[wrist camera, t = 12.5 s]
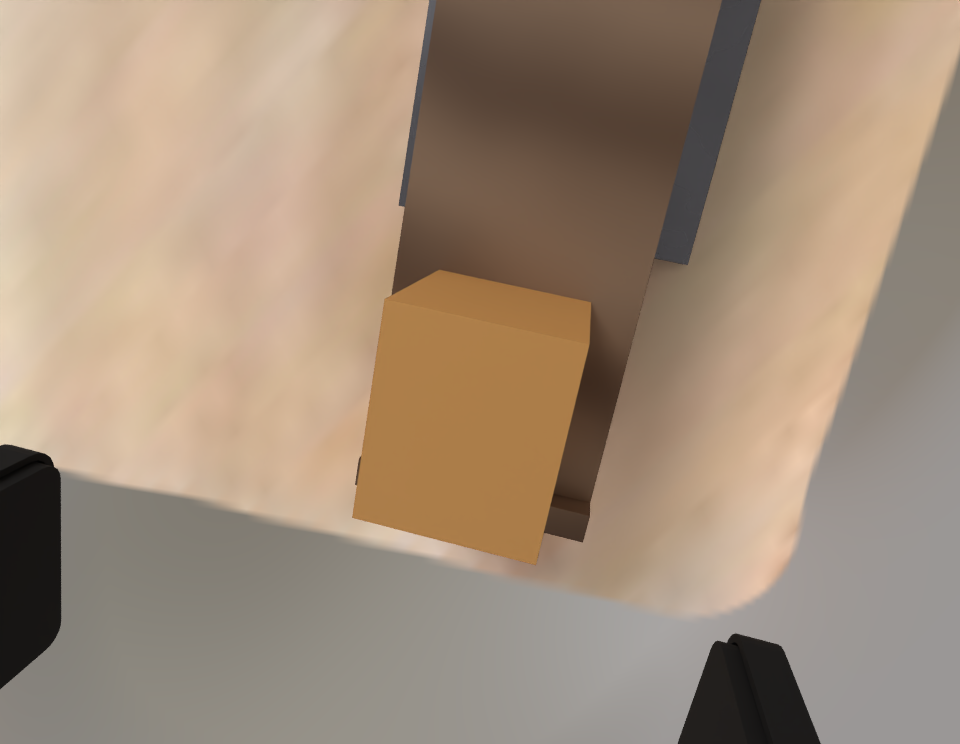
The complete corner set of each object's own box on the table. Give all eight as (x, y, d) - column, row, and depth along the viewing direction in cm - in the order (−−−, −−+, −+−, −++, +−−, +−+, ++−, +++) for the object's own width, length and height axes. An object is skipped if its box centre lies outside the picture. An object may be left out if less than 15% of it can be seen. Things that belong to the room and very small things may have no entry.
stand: (444, -56, 26) (405, -120, 21) (758, -5, 25) (803, -58, 20) (378, 379, 31) (333, 418, 26) (635, 439, 30) (644, 494, 25)
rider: (439, 269, 22) (384, 299, 16) (591, 302, 22) (589, 344, 16) (410, 437, 24) (352, 517, 18) (550, 472, 23) (535, 564, 18)
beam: (528, -509, 18) (518, -615, 15) (841, -480, 17) (881, -589, 15) (377, 457, 26) (355, 484, 23) (583, 508, 25) (582, 542, 23)
